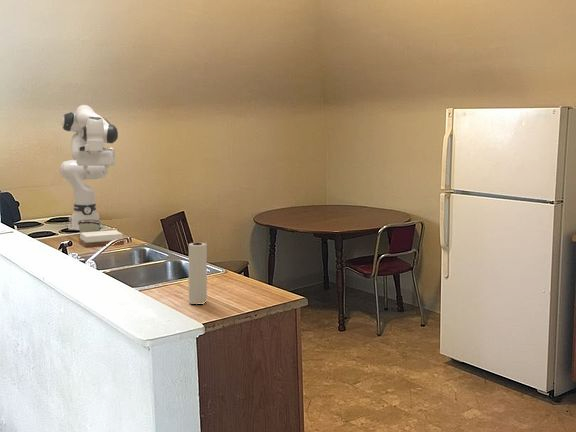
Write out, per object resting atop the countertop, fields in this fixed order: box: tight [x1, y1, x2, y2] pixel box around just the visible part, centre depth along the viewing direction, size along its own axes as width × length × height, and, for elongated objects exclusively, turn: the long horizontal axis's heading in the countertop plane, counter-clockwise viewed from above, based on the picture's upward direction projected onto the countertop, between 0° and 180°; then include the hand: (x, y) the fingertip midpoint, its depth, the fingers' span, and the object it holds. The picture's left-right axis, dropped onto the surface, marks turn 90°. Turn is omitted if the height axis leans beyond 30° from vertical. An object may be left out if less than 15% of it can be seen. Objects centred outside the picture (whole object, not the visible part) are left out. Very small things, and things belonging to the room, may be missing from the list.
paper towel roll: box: [188, 242, 208, 305], centre depth 233 cm, size 7×6×21 cm
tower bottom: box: [78, 237, 125, 249], centre depth 337 cm, size 13×19×3 cm
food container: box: [78, 219, 103, 234], centre depth 348 cm, size 12×6×10 cm, turn 84°
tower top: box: [79, 229, 124, 243], centre depth 336 cm, size 12×18×3 cm, turn 121°
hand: (96, 174), depth 349 cm, fingers open, 8 cm apart
